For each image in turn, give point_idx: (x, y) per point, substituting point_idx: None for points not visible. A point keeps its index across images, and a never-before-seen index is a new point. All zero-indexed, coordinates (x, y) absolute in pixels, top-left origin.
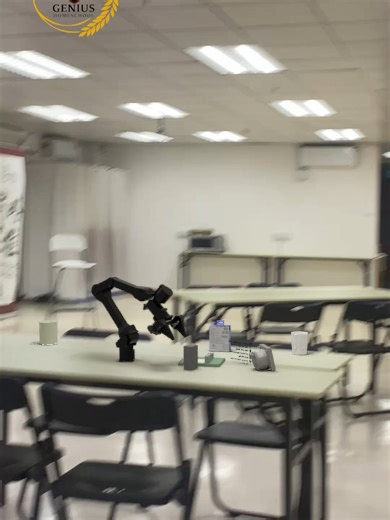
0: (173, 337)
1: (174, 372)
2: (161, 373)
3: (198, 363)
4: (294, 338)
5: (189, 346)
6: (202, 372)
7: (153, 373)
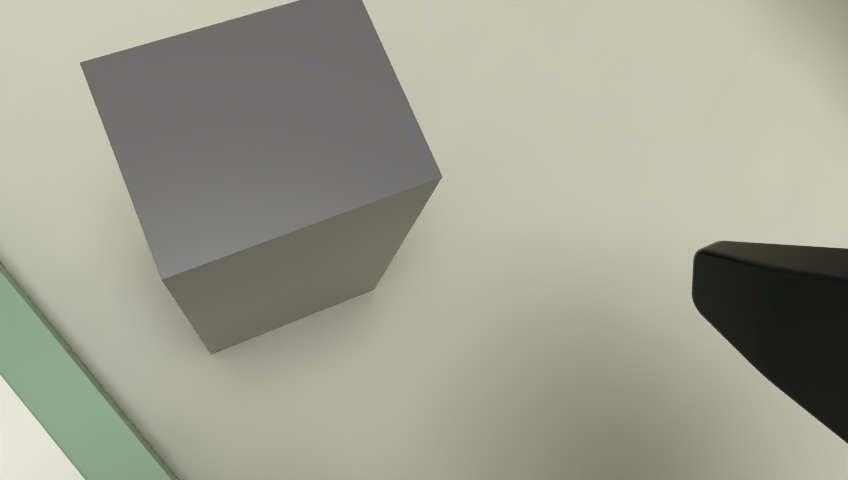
0: (770, 245)
1: (559, 230)
2: None
3: (44, 323)
4: None
5: (361, 52)
6: None
7: None
